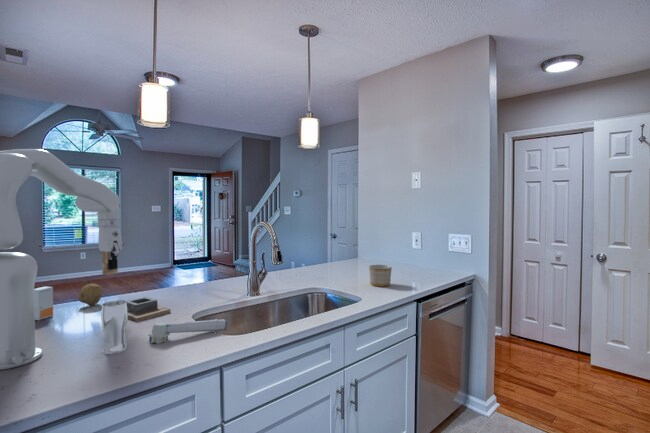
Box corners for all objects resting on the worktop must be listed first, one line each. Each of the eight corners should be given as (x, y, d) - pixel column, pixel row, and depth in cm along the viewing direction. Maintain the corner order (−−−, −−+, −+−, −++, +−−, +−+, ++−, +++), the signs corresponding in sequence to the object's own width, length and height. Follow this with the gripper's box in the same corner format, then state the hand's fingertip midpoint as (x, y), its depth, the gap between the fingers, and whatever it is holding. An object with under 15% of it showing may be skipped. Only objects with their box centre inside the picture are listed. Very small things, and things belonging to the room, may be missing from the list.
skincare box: (39, 320, 134) (38, 290, 134) (30, 319, 135) (29, 289, 135) (54, 315, 140) (53, 286, 140) (45, 315, 141) (44, 286, 141)
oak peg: (117, 273, 141) (117, 249, 140) (107, 275, 138) (106, 250, 137) (112, 272, 143) (112, 248, 143) (102, 273, 140) (101, 249, 139)
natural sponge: (78, 310, 147) (77, 287, 147) (78, 305, 155) (77, 283, 154) (103, 306, 153) (103, 284, 152) (102, 301, 160) (101, 280, 160)
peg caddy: (170, 312, 144) (170, 300, 144) (136, 321, 133) (136, 309, 133) (145, 304, 156) (145, 293, 156) (112, 312, 144) (112, 300, 144)
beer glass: (123, 344, 112) (122, 298, 111) (132, 349, 107) (131, 302, 107) (98, 351, 107) (97, 303, 106) (107, 357, 102) (105, 307, 102)
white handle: (228, 321, 123) (151, 323, 111) (225, 339, 123) (148, 344, 111) (224, 316, 128) (149, 318, 115) (222, 334, 128) (147, 338, 115)
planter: (366, 286, 191) (367, 267, 190) (371, 281, 202) (371, 264, 202) (389, 288, 187) (390, 269, 186) (392, 283, 199) (393, 265, 198)
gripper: (129, 224, 138) (130, 269, 139) (108, 222, 147) (109, 265, 148) (109, 225, 132) (110, 272, 133) (88, 223, 141) (90, 267, 142)
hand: (109, 268), depth 140 cm, fingers closed on oak peg, 4 cm apart
